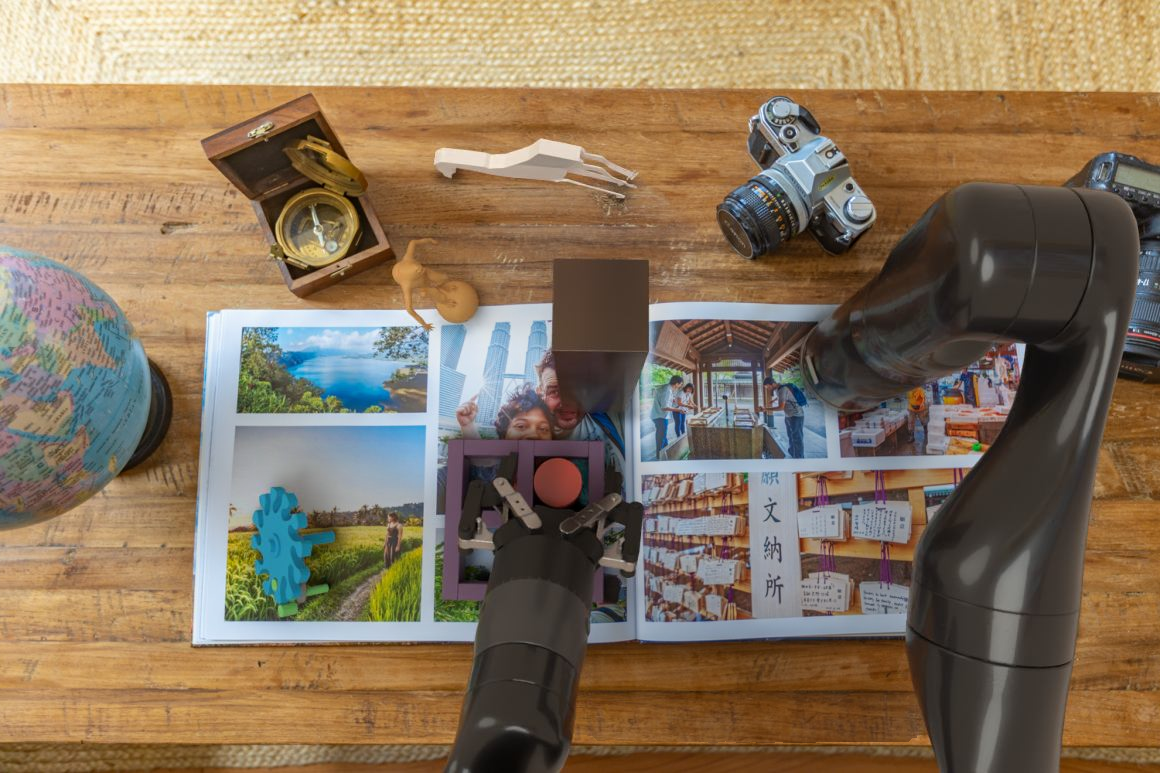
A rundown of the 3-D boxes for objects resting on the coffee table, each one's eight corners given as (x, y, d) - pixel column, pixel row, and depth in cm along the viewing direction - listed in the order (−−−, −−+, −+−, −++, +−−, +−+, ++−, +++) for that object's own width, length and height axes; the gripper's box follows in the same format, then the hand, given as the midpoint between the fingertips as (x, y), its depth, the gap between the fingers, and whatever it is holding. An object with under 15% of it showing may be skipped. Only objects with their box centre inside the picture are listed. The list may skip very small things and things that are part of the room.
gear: (242, 486, 71) (292, 489, 64) (304, 480, 75) (358, 482, 68) (246, 610, 71) (297, 626, 64) (309, 596, 75) (363, 611, 68)
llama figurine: (598, 204, 84) (432, 156, 78) (646, 165, 74) (459, 105, 67) (595, 221, 84) (429, 174, 77) (644, 183, 73) (456, 125, 67)
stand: (626, 350, 75) (649, 259, 49) (626, 413, 74) (649, 352, 48) (563, 349, 75) (553, 257, 49) (562, 412, 74) (551, 351, 48)
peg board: (603, 445, 73) (604, 441, 69) (602, 598, 71) (603, 602, 67) (455, 443, 73) (448, 438, 70) (449, 596, 71) (441, 600, 67)
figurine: (479, 350, 75) (460, 317, 63) (416, 349, 75) (385, 316, 63) (482, 266, 76) (464, 219, 65) (420, 266, 76) (390, 218, 65)
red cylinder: (582, 465, 73) (582, 458, 65) (581, 509, 72) (581, 506, 64) (539, 465, 73) (534, 457, 65) (538, 508, 72) (533, 506, 64)
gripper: (433, 639, 56) (479, 486, 70) (631, 667, 56) (639, 508, 69) (431, 568, 52) (481, 419, 65) (646, 598, 52) (651, 443, 65)
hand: (562, 465), depth 67 cm, fingers open, 8 cm apart
